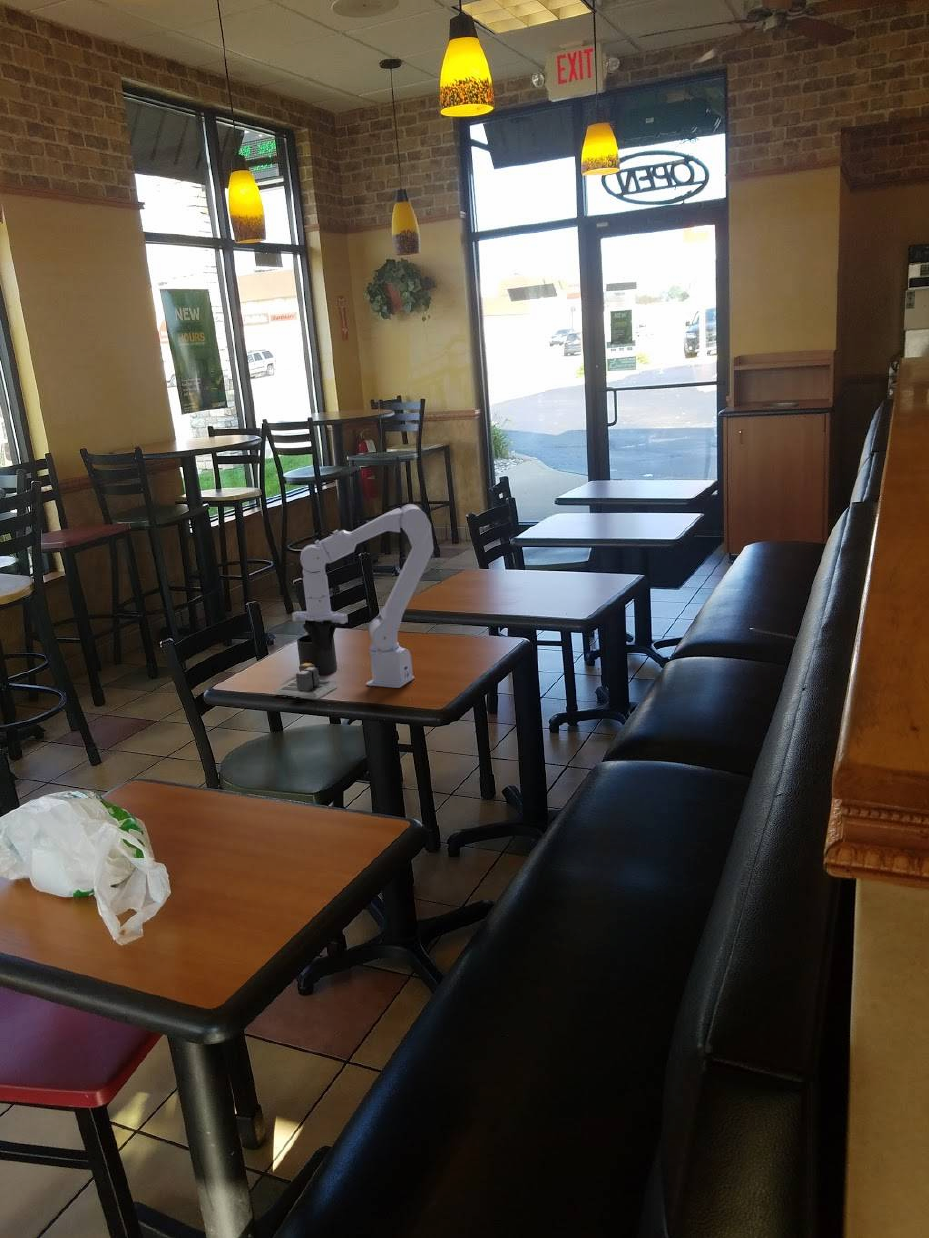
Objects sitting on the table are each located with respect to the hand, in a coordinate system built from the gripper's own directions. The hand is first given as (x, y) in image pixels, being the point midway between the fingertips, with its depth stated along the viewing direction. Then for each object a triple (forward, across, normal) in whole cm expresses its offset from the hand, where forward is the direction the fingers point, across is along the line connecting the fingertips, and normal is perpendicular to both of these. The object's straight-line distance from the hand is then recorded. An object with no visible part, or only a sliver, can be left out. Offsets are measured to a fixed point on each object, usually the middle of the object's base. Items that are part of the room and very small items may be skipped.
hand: (323, 650), depth 231 cm
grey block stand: (+10, -4, -3) cm, 11 cm away
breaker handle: (+8, -6, 0) cm, 10 cm away
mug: (+10, -11, +13) cm, 20 cm away
